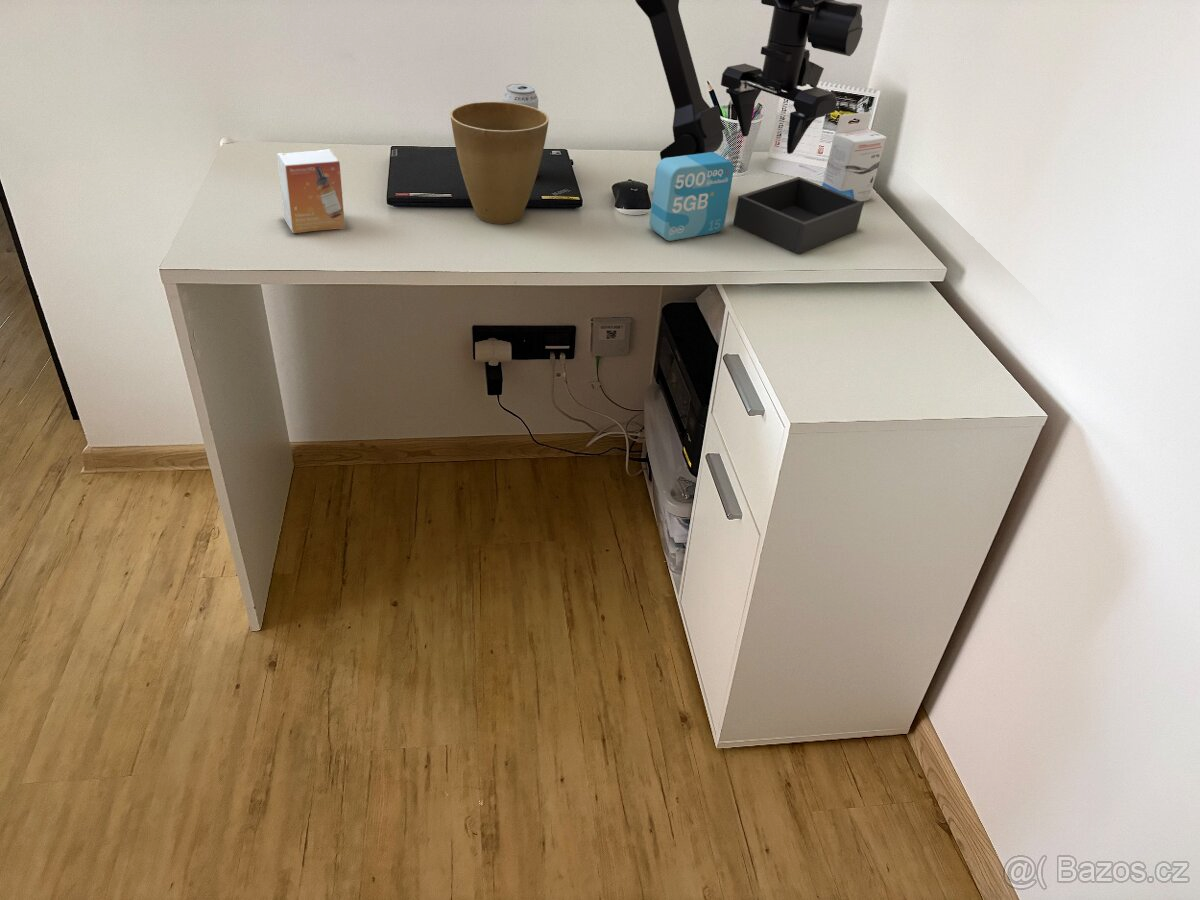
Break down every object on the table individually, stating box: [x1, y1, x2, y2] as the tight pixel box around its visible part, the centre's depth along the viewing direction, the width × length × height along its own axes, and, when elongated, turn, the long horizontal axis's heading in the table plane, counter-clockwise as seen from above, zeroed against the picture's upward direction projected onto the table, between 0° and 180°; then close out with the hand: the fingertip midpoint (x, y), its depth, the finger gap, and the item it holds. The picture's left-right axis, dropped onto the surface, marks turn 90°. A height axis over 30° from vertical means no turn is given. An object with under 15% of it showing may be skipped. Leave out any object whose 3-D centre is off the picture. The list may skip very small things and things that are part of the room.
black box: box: [732, 176, 865, 255], centre depth 153 cm, size 14×17×5 cm
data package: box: [649, 152, 735, 242], centre depth 146 cm, size 12×4×12 cm, turn 120°
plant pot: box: [449, 101, 550, 225], centre depth 144 cm, size 15×15×16 cm
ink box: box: [821, 111, 887, 202], centre depth 163 cm, size 8×5×15 cm, turn 123°
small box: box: [276, 148, 346, 234], centre depth 137 cm, size 8×6×10 cm
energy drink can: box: [502, 83, 539, 110], centre depth 159 cm, size 6×6×15 cm
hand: (767, 144), depth 147 cm, fingers open, 9 cm apart
